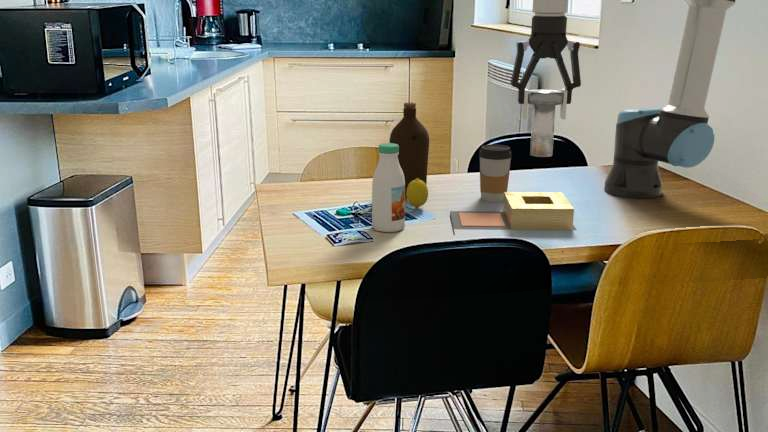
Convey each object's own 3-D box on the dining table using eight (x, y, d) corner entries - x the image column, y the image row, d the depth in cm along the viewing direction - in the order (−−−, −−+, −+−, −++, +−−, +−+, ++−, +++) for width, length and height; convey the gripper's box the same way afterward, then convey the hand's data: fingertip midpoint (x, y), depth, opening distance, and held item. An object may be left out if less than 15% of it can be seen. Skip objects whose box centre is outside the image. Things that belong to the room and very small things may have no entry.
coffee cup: (508, 209, 193) (511, 151, 188) (475, 207, 194) (477, 150, 190) (509, 200, 201) (512, 144, 196) (478, 198, 202) (480, 143, 198)
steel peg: (555, 150, 178) (559, 89, 173) (562, 158, 170) (566, 94, 166) (521, 150, 178) (524, 89, 174) (526, 158, 170) (529, 94, 166)
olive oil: (436, 195, 205) (438, 103, 198) (408, 202, 198) (409, 107, 191) (408, 187, 213) (409, 99, 205) (381, 194, 206) (381, 103, 198)
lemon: (405, 205, 196) (405, 175, 193) (426, 205, 196) (426, 175, 194) (407, 212, 190) (407, 181, 188) (429, 211, 191) (429, 180, 188)
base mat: (563, 217, 186) (564, 211, 185) (576, 236, 172) (576, 229, 172) (449, 216, 186) (450, 210, 186) (453, 235, 173) (453, 228, 172)
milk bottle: (379, 234, 173) (379, 149, 167) (367, 225, 180) (366, 142, 174) (410, 230, 176) (411, 146, 170) (396, 221, 183) (397, 140, 177)
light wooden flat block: (560, 212, 185) (561, 192, 184) (572, 229, 172) (574, 208, 170) (502, 211, 186) (504, 191, 184) (510, 229, 172) (511, 208, 171)
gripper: (593, 13, 168) (585, 115, 175) (499, 14, 169) (495, 115, 175) (601, 15, 161) (593, 121, 168) (504, 15, 161) (499, 121, 168)
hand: (543, 118), depth 171 cm, fingers closed on steel peg, 8 cm apart
